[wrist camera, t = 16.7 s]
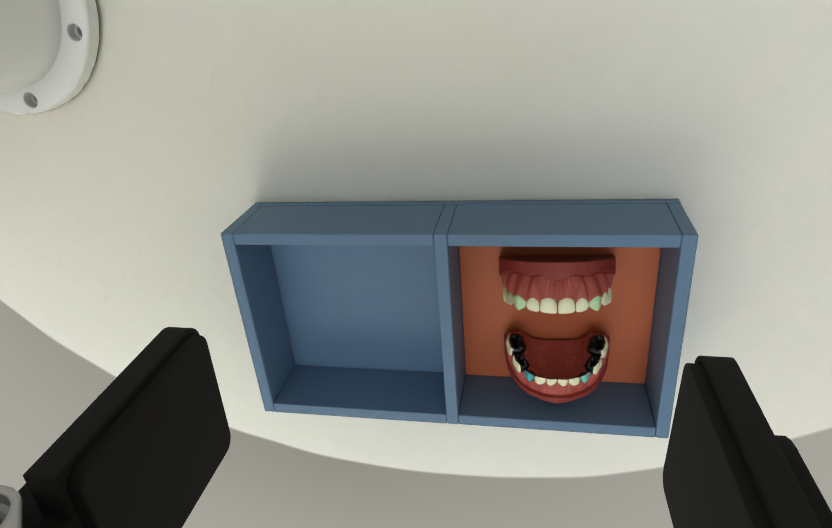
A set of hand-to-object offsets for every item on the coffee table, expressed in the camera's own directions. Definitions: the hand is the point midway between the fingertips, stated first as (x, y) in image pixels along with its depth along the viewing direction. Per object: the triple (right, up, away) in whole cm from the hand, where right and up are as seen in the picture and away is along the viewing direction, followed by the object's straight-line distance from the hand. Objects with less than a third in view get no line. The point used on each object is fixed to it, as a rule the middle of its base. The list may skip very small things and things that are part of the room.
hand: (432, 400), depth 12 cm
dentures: (+8, -5, +23) cm, 25 cm away
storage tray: (+2, +1, +25) cm, 25 cm away
